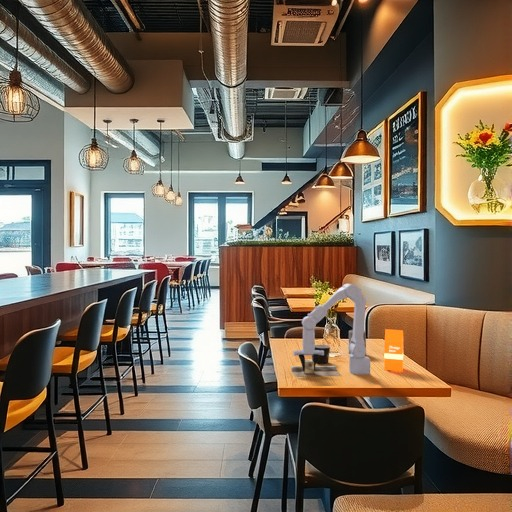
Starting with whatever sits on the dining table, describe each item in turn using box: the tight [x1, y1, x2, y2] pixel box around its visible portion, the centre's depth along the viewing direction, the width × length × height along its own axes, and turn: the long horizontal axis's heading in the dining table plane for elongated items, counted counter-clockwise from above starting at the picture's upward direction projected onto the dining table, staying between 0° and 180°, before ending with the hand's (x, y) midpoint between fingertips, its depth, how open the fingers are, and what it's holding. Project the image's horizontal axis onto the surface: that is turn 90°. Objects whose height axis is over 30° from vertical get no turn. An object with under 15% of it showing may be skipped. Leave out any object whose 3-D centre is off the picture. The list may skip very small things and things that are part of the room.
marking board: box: [290, 365, 342, 378], centre depth 217 cm, size 22×12×3 cm, turn 94°
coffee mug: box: [315, 344, 331, 365], centre depth 237 cm, size 12×9×10 cm
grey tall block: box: [348, 329, 367, 356], centre depth 263 cm, size 10×10×15 cm
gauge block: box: [304, 359, 314, 373], centre depth 216 cm, size 4×8×5 cm, turn 4°
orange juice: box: [383, 328, 404, 373], centre depth 230 cm, size 8×9×20 cm
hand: (308, 370), depth 217 cm, fingers closed on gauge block, 4 cm apart
